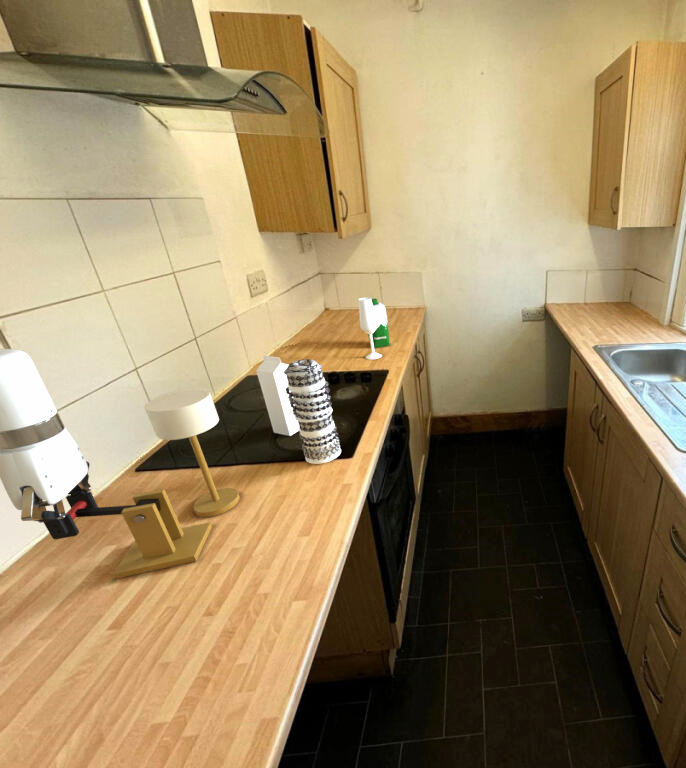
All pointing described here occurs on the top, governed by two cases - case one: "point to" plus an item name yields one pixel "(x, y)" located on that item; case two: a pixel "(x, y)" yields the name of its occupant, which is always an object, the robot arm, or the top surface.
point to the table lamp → (191, 438)
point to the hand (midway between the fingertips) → (77, 523)
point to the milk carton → (380, 326)
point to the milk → (277, 395)
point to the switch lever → (105, 509)
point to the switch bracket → (159, 537)
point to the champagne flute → (368, 323)
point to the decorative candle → (312, 411)
